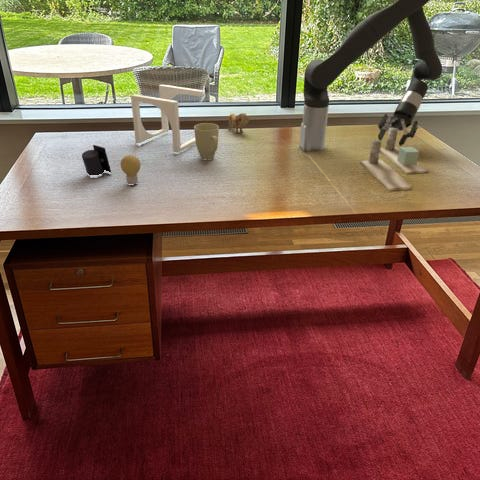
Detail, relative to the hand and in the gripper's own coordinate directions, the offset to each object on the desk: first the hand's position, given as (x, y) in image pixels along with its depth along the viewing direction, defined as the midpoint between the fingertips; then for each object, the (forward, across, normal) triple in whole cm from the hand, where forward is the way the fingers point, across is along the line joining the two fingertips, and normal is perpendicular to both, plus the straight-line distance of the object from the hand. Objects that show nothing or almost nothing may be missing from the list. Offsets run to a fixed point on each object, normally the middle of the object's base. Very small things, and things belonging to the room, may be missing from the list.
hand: (389, 142), depth 187 cm
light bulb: (+63, -49, -56) cm, 98 cm away
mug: (+39, -47, -32) cm, 69 cm away
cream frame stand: (+38, -71, -31) cm, 86 cm away
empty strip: (+18, +10, -12) cm, 24 cm away
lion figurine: (+17, -61, -10) cm, 64 cm away
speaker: (+66, -64, -59) cm, 109 cm away
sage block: (+7, +11, -3) cm, 14 cm away
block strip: (+6, +8, -1) cm, 10 cm away
